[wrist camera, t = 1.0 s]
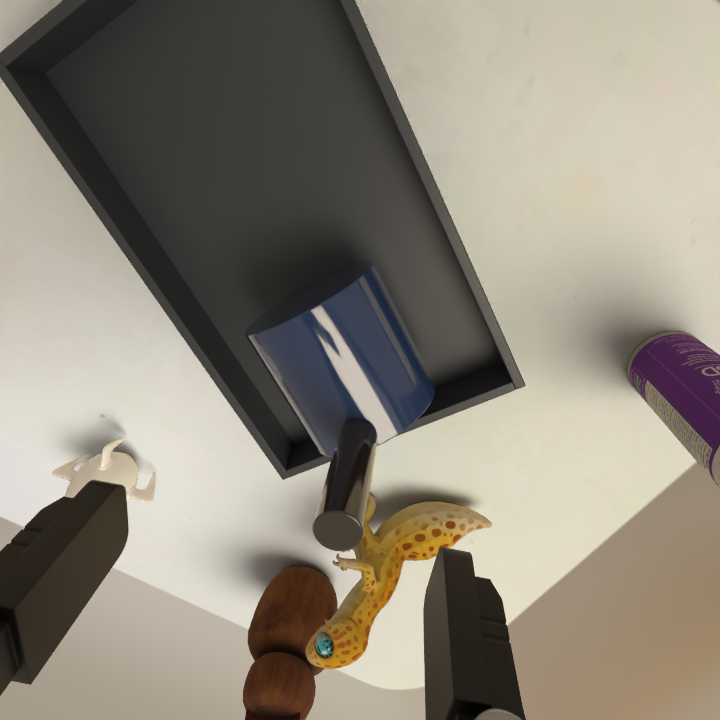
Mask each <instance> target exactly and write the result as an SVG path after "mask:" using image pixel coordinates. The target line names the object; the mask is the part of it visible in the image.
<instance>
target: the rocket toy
mask: <svg viewBox="0 0 720 720" xmlns="http://www.w3.org/2000/svg"><path fill="white" fill-rule="evenodd" d="M125 438H126V437H122V438H119V439H117V440H115V441H112V442H110V443H108V444H107V445H105V446H104V448H103V450H102V453H101V454H99V455H97V456H95V457H93V458H91V459H90V460H89V461H87V462H86V463H85V464H83V465H82V466H81V467H80V469H79V470H78V471H75V470H74V467H75V466H76V465H78V464H79V463H80V462H82V461H83V460H85V459H86V458H87V457H89V456H90V455H91V454H87V455H85V456H82V457H80V458H78V459H76V460H73V461H71V462H69V463H67V464H65V465H63V466H61V467H59V468H57V469H56V470H54V471H53V472H52V474H53V475H54V476H57V477H60V478H63V479H66V480H69V481H70V483H69V486H68V488H67V491H66V494H65V497H70V498H74V497H75V495H76V494H77V493H78V492H79V491H80V490H81V489H82V488H83V487H84V486H85V485H86V484H87V483H88V482H89V481H91V480H99V481H104V482H109V483H114V484H120V485H123V486H124V487H125V489H126V499H127V501H128V500H129V499H135V500H138V501H142V502H146V503H150V502H152V500H153V498H154V492H155V481H156V474H155V472H154V473H153V475H152V478H151V480H150V482H149V485H148V486H147V488H146V489H144V490H139V489H137V488H135V487H136V484H137V480H138V469H137V465H136V463H135V461H134V459H133V457H132V456H130V455H129V454H127V453H123V452H113V449H114V448H115V447H116V446H117V445H118V444H119V443H121V442H122V441H123V440H124V439H125Z"/></svg>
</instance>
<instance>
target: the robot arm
mask: <svg viewBox="0 0 720 720" xmlns="http://www.w3.org/2000/svg"><path fill="white" fill-rule="evenodd" d="M127 537H128V514H127V499H126V489H125V487H124V486H123V485H120V484H114V483H109V482H104V481H99V480H91V481H89V482H88V483H87V484H86V485H85V486H84V487H83V488H82V489H81V490H80V491H79V492H78V493H77V494H76V495H75V497H74V498H70V497H65V496H64V497H62V498H61V499H59V500H57V501H55V502H54V503H52V504H50V505H48V506H47V507H45V508H43V509H42V510H41V511H40V512H39V513H38V514H37V515H36V516H35V517H34V518H33V519H32V520H31V521H30V522H29V523H28V524H27V525H26V526H25V529H24V530H21V531H20V532H19V533H18V534H17V535H16V536H15V537H14V538H13V539H12V541H11V543H10V544H7V545H6V546H5V547H4V548H3V549H2V550H1V551H0V695H1V694H2V693H3V691H4V690H5V689H6V687H7V686H8V684H9V683H10V682H11V681H15V682H20V683H25V684H32V682H33V680H34V679H35V678H36V676H37V675H38V674H39V672H40V671H41V669H42V668H43V666H44V665H45V663H46V662H47V661H48V659H49V658H50V656H51V655H52V653H53V652H54V650H55V649H56V648H57V646H58V645H59V643H60V642H61V640H62V639H63V637H64V636H65V635H66V633H67V631H68V630H69V629H70V627H71V626H72V624H73V623H74V622H75V620H76V619H77V617H78V615H79V614H80V613H81V611H82V610H83V608H84V607H85V606H86V604H87V603H88V601H89V600H90V598H91V597H92V595H93V594H94V592H95V591H96V590H97V588H98V587H99V585H100V584H101V582H102V581H103V580H104V578H105V577H106V575H107V574H108V572H109V571H110V569H111V568H112V567H113V565H114V564H115V562H116V561H117V559H118V558H119V556H120V555H121V553H122V551H123V549H124V547H125V544H126V541H127ZM424 662H425V703H426V704H425V706H426V720H526V719H525V715H524V711H523V707H522V702H521V696H520V691H519V686H518V681H517V675H516V670H515V665H514V660H513V654H512V649H511V644H510V643H509V634H508V628H507V625H506V618H505V613H504V607H503V602H502V599H501V597H500V595H499V594H498V592H497V590H496V589H495V587H494V585H493V584H492V582H491V580H490V579H486V578H480V577H475V574H474V567H473V560H472V555H471V553H470V552H465V551H460V550H454V549H449V548H444V547H440V548H439V550H438V553H437V557H436V560H435V563H434V566H433V570H432V573H431V576H430V579H429V583H428V586H427V590H426V594H425V601H424Z"/></svg>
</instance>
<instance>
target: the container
mask: <svg viewBox="0 0 720 720" xmlns="http://www.w3.org/2000/svg"><path fill="white" fill-rule="evenodd" d="M627 376H628V379H629V381H630V383H631V384H632V386H633V387H634V388H635V390H636V391H637V392H638V393H639V394H640V395H641V397H642V398H643V399H644V400H645V401H646V402H647V404H648V405H649V406H650V407H651V408H652V409H653V411H654V412H655V413H656V414H657V415H658V416H659V418H660V419H661V420H662V421H663V422H664V423H665V425H666V426H667V427H668V428H669V429H670V430H671V432H672V433H673V434H674V435H675V436H676V437H677V439H678V440H679V441H680V442H681V443H682V444H683V446H684V447H685V448H686V449H687V450H688V451H689V453H690V454H691V455H692V456H693V457H694V458H695V460H696V461H697V462H698V463H699V464H700V465H701V466H702V468H703V469H704V470H705V471H706V472H707V473H708V475H709V476H710V477H711V478H712V479H713V480H714V482H715V483H716V484H717V485H718V486H719V487H720V355H719V354H717V353H716V352H714V351H713V350H712V349H710V348H709V347H708V346H706V345H705V344H703V343H702V342H701V341H699V340H698V339H696V338H695V337H693V336H692V335H690V334H687V333H684V332H679V331H669V332H663V333H659V334H656V335H654V336H652V337H650V338H648V339H646V340H645V341H643V342H642V343H641V344H640V345H639V346H638V347H637V348H636V349H635V350H634V352H633V353H632V355H631V356H630V359H629V361H628V365H627Z"/></svg>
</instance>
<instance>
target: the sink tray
mask: <svg viewBox="0 0 720 720" xmlns="http://www.w3.org/2000/svg"><path fill="white" fill-rule="evenodd" d="M0 77H1V79H2V80H3V82H4V83H5V85H6V86H7V87H8V89H9V90H10V92H11V93H12V95H13V96H14V97H15V99H16V100H17V102H18V103H19V105H20V106H21V107H22V109H23V110H24V112H25V113H26V114H27V116H28V117H29V119H30V120H31V122H32V123H33V124H34V126H35V127H36V129H37V130H38V132H39V133H40V134H41V136H42V137H43V139H44V140H45V142H46V143H47V144H48V146H49V147H50V149H51V150H52V152H53V153H54V154H55V156H56V157H57V159H58V160H59V161H60V163H61V164H62V166H63V167H64V169H65V170H66V171H67V173H68V174H69V176H70V177H71V179H72V180H73V181H74V183H75V184H76V186H77V187H78V189H79V190H80V191H81V193H82V194H83V196H84V197H85V199H86V200H87V201H88V203H89V204H90V206H91V207H92V208H93V210H94V211H95V213H96V214H97V216H98V217H99V218H100V220H101V221H102V223H103V224H104V226H105V227H106V228H107V230H108V231H109V233H110V234H111V236H112V237H113V238H114V240H115V241H116V243H117V244H118V246H119V247H120V248H121V250H122V251H123V253H124V254H125V256H126V257H127V258H128V260H129V261H130V263H131V264H132V265H133V267H134V268H135V270H136V271H137V273H138V274H139V275H140V277H141V278H142V280H143V281H144V283H145V284H146V285H147V287H148V288H149V290H150V291H151V293H152V294H153V295H154V297H155V298H156V300H157V301H158V303H159V304H160V305H161V307H162V308H163V310H164V311H165V312H166V314H167V315H168V317H169V318H170V320H171V321H172V322H173V324H174V325H175V327H176V328H177V330H178V331H179V332H180V334H181V335H182V337H183V338H184V340H185V341H186V342H187V344H188V345H189V347H190V348H191V350H192V351H193V352H194V354H195V355H196V357H197V358H198V359H199V361H200V362H201V364H202V365H203V367H204V368H205V369H206V371H207V372H208V374H209V375H210V377H211V378H212V379H213V381H214V382H215V384H216V385H217V387H218V388H219V389H220V391H221V392H222V394H223V395H224V397H225V398H226V399H227V401H228V402H229V404H230V405H231V406H232V408H233V409H234V411H235V412H236V414H237V415H238V416H239V418H240V419H241V421H242V422H243V424H244V425H245V426H246V428H247V429H248V431H249V432H250V434H251V435H252V436H253V438H254V439H255V441H256V442H257V444H258V445H259V446H260V448H261V449H262V451H263V452H264V454H265V455H266V456H267V458H268V459H269V461H270V462H271V463H272V465H273V466H274V468H275V469H276V471H277V472H278V473H279V475H280V476H281V478H282V479H283V480H284V479H286V478H289V477H291V476H294V475H297V474H299V473H302V472H304V471H307V470H310V469H312V468H315V467H317V466H320V465H322V464H325V463H328V462H330V461H331V460H332V457H328V456H325V455H323V454H321V453H319V452H318V451H317V449H316V448H315V446H314V444H313V443H312V441H311V440H310V438H309V437H308V435H307V433H306V432H305V430H304V429H303V427H302V425H301V424H300V422H299V421H298V419H297V417H296V416H295V414H294V413H293V411H292V409H291V408H290V406H289V405H288V403H287V402H286V400H285V398H284V397H283V395H282V394H281V392H280V390H279V389H278V387H277V386H276V384H275V382H274V381H273V379H272V378H271V376H270V375H269V373H268V371H267V370H266V368H265V367H264V365H263V363H262V362H261V360H260V359H259V357H258V355H257V354H256V352H255V351H254V349H253V348H252V346H251V344H250V343H249V341H248V340H247V338H246V336H245V334H244V333H245V331H246V329H247V328H248V327H249V326H250V325H251V324H252V323H253V322H254V321H255V320H256V319H258V318H259V317H260V316H262V315H263V314H264V313H266V312H267V311H268V310H270V309H271V308H273V307H274V306H276V305H277V304H279V303H280V302H282V301H284V300H285V299H287V298H288V297H290V296H292V295H293V294H295V293H297V292H299V291H300V290H302V289H304V288H306V287H308V286H309V285H311V284H313V283H315V282H317V281H319V280H321V279H323V278H325V277H327V276H329V275H331V274H333V273H335V272H337V271H340V270H342V269H344V268H347V267H349V266H352V265H355V264H358V263H361V262H367V261H370V262H372V263H373V264H374V266H375V268H376V270H377V272H378V274H379V276H380V278H381V280H382V282H383V284H384V286H385V288H386V290H387V291H388V293H389V295H390V297H391V299H392V301H393V303H394V305H395V307H396V309H397V311H398V313H399V315H400V317H401V319H402V321H403V323H404V325H405V327H406V329H407V331H408V333H409V335H410V336H411V338H412V340H413V342H414V344H415V346H416V348H417V350H418V352H419V354H420V356H421V358H422V360H423V362H424V364H425V366H426V368H427V370H428V372H429V374H430V376H431V378H432V380H433V382H434V383H435V394H434V397H433V399H432V401H431V403H430V405H429V406H428V408H427V409H426V410H425V411H424V413H423V414H422V415H421V416H420V417H419V418H418V419H417V420H416V421H415V422H414V423H412V424H411V425H410V426H409V427H408V428H406V429H405V430H404V431H402V432H401V433H399V434H398V435H400V434H403V433H405V432H408V431H410V430H413V429H416V428H418V427H421V426H423V425H426V424H429V423H431V422H434V421H436V420H439V419H442V418H444V417H447V416H449V415H452V414H454V413H457V412H460V411H462V410H465V409H467V408H470V407H473V406H475V405H478V404H480V403H483V402H486V401H488V400H491V399H493V398H496V397H498V396H501V395H504V394H506V393H509V392H511V391H514V390H516V389H519V388H522V387H524V386H525V383H524V381H523V378H522V376H521V374H520V371H519V369H518V367H517V365H516V362H515V360H514V358H513V356H512V353H511V351H510V349H509V347H508V344H507V342H506V340H505V338H504V335H503V333H502V331H501V329H500V326H499V324H498V322H497V320H496V317H495V315H494V313H493V311H492V308H491V306H490V304H489V302H488V299H487V297H486V295H485V293H484V290H483V288H482V286H481V284H480V281H479V279H478V277H477V275H476V272H475V270H474V268H473V266H472V263H471V261H470V259H469V257H468V254H467V252H466V250H465V248H464V245H463V243H462V241H461V239H460V236H459V234H458V232H457V230H456V227H455V225H454V223H453V221H452V218H451V216H450V214H449V212H448V209H447V207H446V205H445V203H444V200H443V198H442V196H441V193H440V191H439V189H438V187H437V184H436V182H435V180H434V178H433V175H432V173H431V171H430V169H429V166H428V164H427V162H426V160H425V157H424V155H423V153H422V151H421V148H420V146H419V144H418V142H417V139H416V137H415V135H414V133H413V130H412V128H411V126H410V124H409V121H408V119H407V117H406V115H405V112H404V110H403V108H402V106H401V103H400V101H399V99H398V97H397V94H396V92H395V90H394V88H393V85H392V83H391V81H390V79H389V76H388V74H387V72H386V70H385V67H384V65H383V63H382V61H381V58H380V56H379V54H378V52H377V49H376V47H375V45H374V43H373V40H372V38H371V36H370V34H369V31H368V29H367V27H366V25H365V22H364V20H363V18H362V16H361V13H360V11H359V9H358V6H357V4H356V2H355V0H63V1H62V2H61V3H60V4H58V5H57V6H56V7H55V8H54V9H52V10H51V11H50V12H49V13H48V14H46V15H45V16H44V17H43V18H41V19H40V20H39V21H38V22H37V23H35V24H34V25H33V26H32V27H31V28H29V29H28V30H27V31H26V32H25V33H23V34H22V35H21V36H20V37H19V38H17V39H16V40H15V41H14V42H13V43H11V44H10V45H9V46H8V47H7V48H5V49H4V50H3V51H2V52H1V53H0ZM398 435H396V436H398Z"/></svg>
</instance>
